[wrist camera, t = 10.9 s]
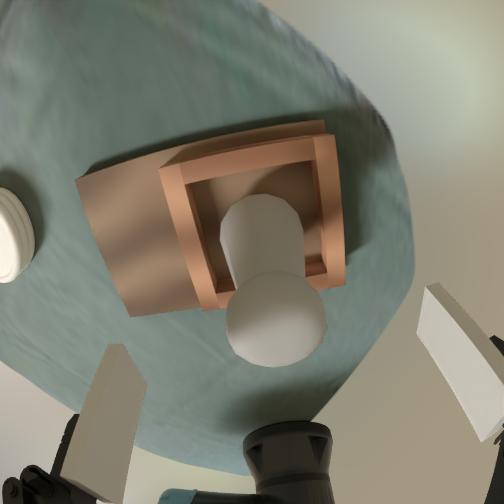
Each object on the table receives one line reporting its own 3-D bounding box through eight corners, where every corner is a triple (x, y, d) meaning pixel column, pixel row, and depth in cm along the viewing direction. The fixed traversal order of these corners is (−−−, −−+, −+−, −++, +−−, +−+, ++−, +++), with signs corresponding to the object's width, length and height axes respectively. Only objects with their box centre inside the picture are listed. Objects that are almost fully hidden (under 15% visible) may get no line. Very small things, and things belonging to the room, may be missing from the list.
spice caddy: (334, 273, 27) (345, 294, 24) (134, 307, 28) (125, 330, 25) (318, 119, 21) (332, 120, 18) (82, 175, 22) (62, 186, 18)
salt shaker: (307, 200, 22) (377, 302, 10) (280, 263, 24) (312, 392, 13) (234, 175, 21) (230, 262, 9) (212, 243, 23) (192, 372, 12)
